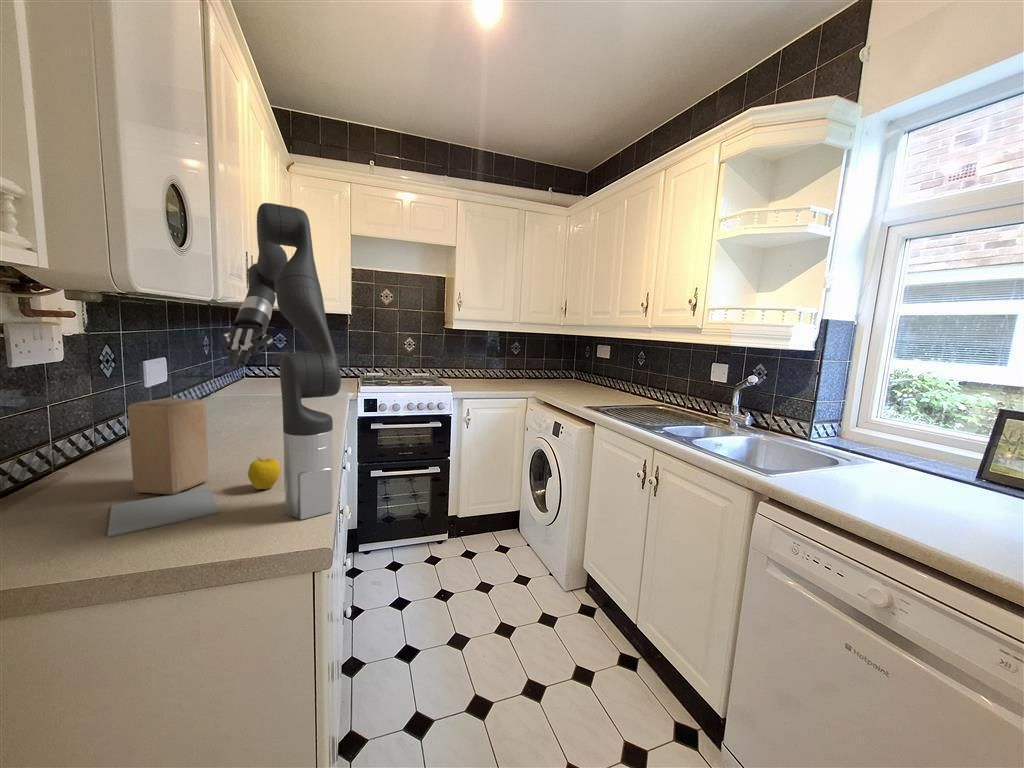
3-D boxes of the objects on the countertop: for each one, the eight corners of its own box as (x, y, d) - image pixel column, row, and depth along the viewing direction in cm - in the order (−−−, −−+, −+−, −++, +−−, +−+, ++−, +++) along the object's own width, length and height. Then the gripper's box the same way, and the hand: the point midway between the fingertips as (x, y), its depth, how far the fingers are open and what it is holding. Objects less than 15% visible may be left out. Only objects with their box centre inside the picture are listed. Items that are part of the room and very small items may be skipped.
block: (211, 480, 98) (206, 398, 96) (173, 496, 88) (167, 405, 86) (173, 478, 99) (168, 397, 97) (131, 493, 89) (124, 403, 87)
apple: (242, 492, 93) (240, 459, 92) (262, 482, 99) (261, 450, 98) (267, 495, 92) (266, 461, 91) (286, 484, 98) (285, 453, 97)
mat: (218, 512, 83) (218, 511, 83) (107, 537, 72) (107, 534, 72) (208, 489, 94) (208, 487, 94) (111, 507, 83) (111, 505, 83)
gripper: (221, 304, 109) (200, 353, 99) (277, 307, 112) (261, 355, 102) (231, 324, 115) (212, 372, 104) (284, 327, 118) (270, 374, 107)
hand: (236, 364), depth 103 cm, fingers closed
